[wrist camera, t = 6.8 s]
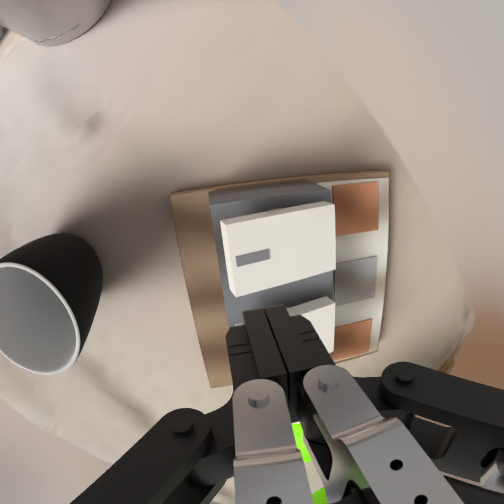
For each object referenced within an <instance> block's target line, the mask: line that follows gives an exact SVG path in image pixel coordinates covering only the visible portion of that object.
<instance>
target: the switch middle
mask: <svg viewBox="0 0 504 504" xmlns="http://www.w3.org/2000/svg"><path fill="white" fill-rule="evenodd" d="M286 309H287V311H288V313H289V315H290V316H296V315H302V316H303V317H305V318H306V319H308V320H309V321H311V323H312V325H313V327H314V328H315V330H316V332H317V333H318V335H319V337H320V339H321V340H322V342H323V344H324V346H325V347H326V349H327V351H328V352H329V353H331V352H333V351H334V329H335V302H333V301H332V300H331V299H329V298H328V297H327V296H325V297H322V298H319V299H316V300H313V301H309V302H306V303H303V304H300V305H297V306H294V307H286ZM240 325H244V323H243V322H240V323H237V324H235V326H240Z"/></svg>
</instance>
